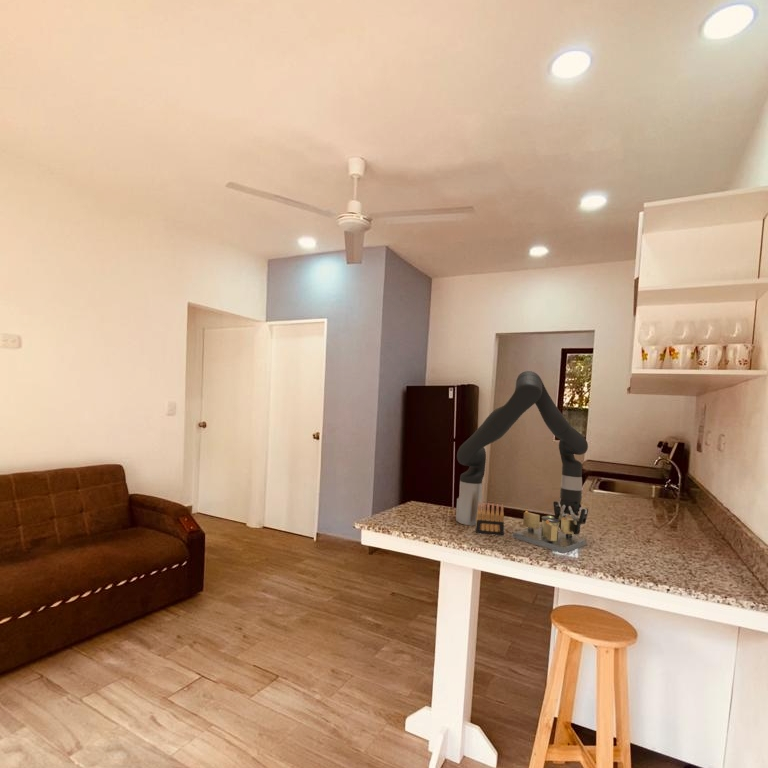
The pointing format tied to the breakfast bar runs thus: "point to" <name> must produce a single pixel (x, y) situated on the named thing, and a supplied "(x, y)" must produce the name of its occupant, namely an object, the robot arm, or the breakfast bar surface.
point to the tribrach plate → (537, 538)
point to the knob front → (550, 531)
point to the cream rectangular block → (567, 526)
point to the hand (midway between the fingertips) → (569, 531)
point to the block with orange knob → (531, 521)
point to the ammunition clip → (490, 520)
